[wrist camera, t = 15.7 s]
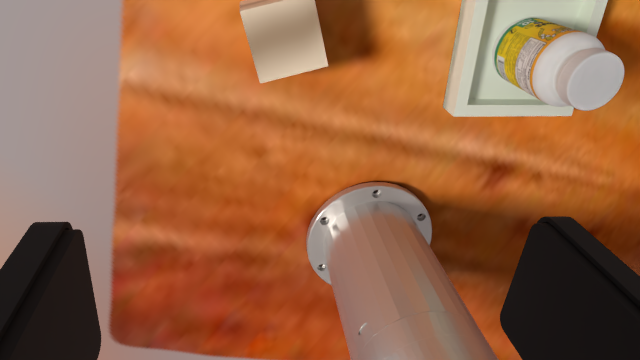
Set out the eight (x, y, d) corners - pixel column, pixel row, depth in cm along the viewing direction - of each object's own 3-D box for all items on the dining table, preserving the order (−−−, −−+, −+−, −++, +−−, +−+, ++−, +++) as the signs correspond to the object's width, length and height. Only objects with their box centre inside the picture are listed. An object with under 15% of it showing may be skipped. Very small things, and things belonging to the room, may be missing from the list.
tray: (555, 106, 43) (571, 115, 41) (442, 107, 41) (453, 116, 39) (593, -23, 38) (614, -20, 36) (467, -28, 36) (480, -26, 34)
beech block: (318, 50, 38) (328, 66, 33) (258, 65, 37) (260, 83, 33) (304, -15, 35) (313, -7, 31) (239, 1, 35) (239, 11, 31)
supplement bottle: (478, 69, 40) (541, 108, 31) (510, 6, 37) (587, 29, 29) (529, 88, 41) (603, 129, 33) (563, 28, 39) (651, 55, 30)
